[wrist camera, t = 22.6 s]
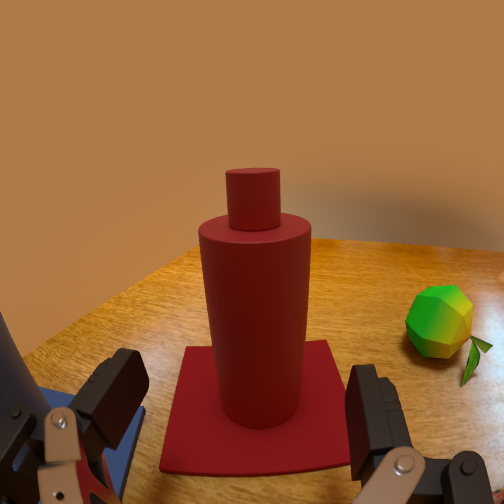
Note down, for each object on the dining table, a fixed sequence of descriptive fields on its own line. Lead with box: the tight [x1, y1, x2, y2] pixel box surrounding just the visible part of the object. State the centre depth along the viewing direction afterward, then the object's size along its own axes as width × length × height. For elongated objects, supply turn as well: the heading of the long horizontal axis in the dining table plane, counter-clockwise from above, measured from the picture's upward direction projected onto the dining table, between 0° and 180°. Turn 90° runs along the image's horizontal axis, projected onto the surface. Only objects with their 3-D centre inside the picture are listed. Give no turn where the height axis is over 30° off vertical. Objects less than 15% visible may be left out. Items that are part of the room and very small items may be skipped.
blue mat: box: [13, 386, 145, 504], centre depth 11 cm, size 12×12×1 cm
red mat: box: [159, 340, 350, 477], centre depth 18 cm, size 12×12×1 cm
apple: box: [405, 285, 493, 387], centre depth 19 cm, size 7×6×9 cm
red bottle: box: [198, 168, 311, 429], centre depth 15 cm, size 5×5×14 cm
